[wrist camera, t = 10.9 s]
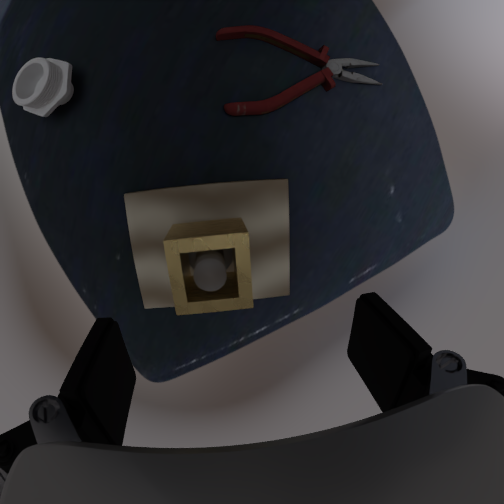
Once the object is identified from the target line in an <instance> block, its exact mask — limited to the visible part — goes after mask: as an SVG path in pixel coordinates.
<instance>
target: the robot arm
mask: <svg viewBox="0 0 504 504" xmlns="http://www.w3.org/2000/svg"><path fill="white" fill-rule="evenodd" d="M431 350H432V348H431V346H430V345H428V343H427V342H425V340H424V339H423V338H422V337H421V336H420V335H419V334H418V333H417V332H416V331H415V330H414V329H413V328H412V327H411V326H410V325H409V324H408V323H407V322H406V321H404V320H403V318H401V317H400V316H399V315H398V314H397V313H396V312H395V311H394V310H393V309H392V308H391V307H390V306H389V305H388V304H387V303H386V302H385V301H384V300H383V299H382V298H381V297H380V296H379V295H377V294H376V293H375V292H372V293H366V294H362V295H361V296H360V298H358V299H357V300H356V305H355V312H354V318H353V323H352V329H351V334H350V340H349V344H348V349H347V354H348V357H349V359H350V361H351V362H352V364H353V365H354V367H355V369H356V370H357V372H358V373H359V375H360V377H361V378H362V380H363V381H364V383H365V385H366V386H367V388H368V389H369V391H370V392H371V394H372V396H373V398H374V399H375V401H376V402H377V404H378V405H379V407H380V409H381V411H382V412H383V413H380V414H377V415H375V416H372V417H369V418H366V419H362V420H359V421H356V422H353V423H349V424H346V425H342V426H339V427H335V428H331V429H327V430H323V431H319V432H314V433H310V434H306V435H301V436H296V437H291V438H285V439H279V440H274V441H267V442H260V443H253V444H244V445H234V446H223V447H207V448H149V447H148V448H147V447H131V446H122V443H123V438H124V433H125V427H126V422H127V417H128V413H129V408H130V404H131V399H132V395H133V390H134V386H135V382H136V374H135V371H134V368H133V365H132V363H131V360H130V357H129V355H128V352H127V349H126V346H125V343H124V340H123V337H122V334H121V331H120V328H119V325H118V323H117V322H116V321H114V320H113V319H112V318H97V319H96V321H95V323H94V325H93V326H92V328H91V330H90V332H89V334H88V336H87V337H86V339H85V341H84V343H83V345H82V347H81V348H80V350H79V352H78V354H77V356H76V358H75V360H74V362H73V364H72V366H71V368H70V370H69V372H68V374H67V376H66V378H65V380H64V382H63V384H62V386H61V389H60V393H59V395H58V397H55V396H51V395H46V396H43V397H40V398H38V399H37V400H36V401H35V402H34V403H33V404H32V405H31V407H30V410H29V419H30V420H29V421H27V422H25V423H23V424H21V425H19V426H17V427H16V428H13V429H11V430H9V431H7V432H5V433H3V434H1V435H0V504H504V378H503V377H500V376H498V375H493V374H488V373H483V372H478V371H474V370H469V369H466V363H465V360H464V359H463V357H461V356H460V355H459V354H457V353H455V352H453V351H449V350H442V351H439V352H437V353H435V354H434V356H433V355H432V354H431Z"/></svg>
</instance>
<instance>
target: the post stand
mask: <svg viewBox="0 0 504 504" xmlns="http://www.w3.org/2000/svg"><path fill="white" fill-rule="evenodd" d="M124 198H125V206H126V214H127V221H128V227H129V234H130V240H131V245H132V251H133V256H134V262H135V267H136V272H137V276H138V281H139V286H140V290H141V295H142V299H143V303H144V307H145V309H146V308H161V307H175V305H174V300H173V295H172V290H171V284H170V279H169V273H168V268H167V262H166V256H165V250H164V243H163V240H164V238H165V237H166V235H167V233H168V231H169V230H170V228H171V226H172V225H173V224H179V223H188V222H198V221H208V220H218V219H229V218H240V217H241V218H242V220H243V222H244V224H245V226H246V228H247V230H248V232H249V245H250V261H251V277H252V293H253V299H259V298H268V297H276V296H284V295H289V273H290V269H289V196H288V179H264V180H247V181H232V182H219V183H208V184H197V185H187V186H178V187H169V188H161V189H153V190H145V191H138V192H131V193H126V194H124ZM188 256H189V263H190V270H191V276H193V275H194V281H195V283H196V285H197V286H198V287H199V288H201V289H202V290H205V291H216V290H218V289H220V288H221V287H222V286H223V285H224V284H225V282H226V278H227V274H226V272H233V271H234V268H233V257H232V248H228V249H218V250H207V251H198V252H188Z"/></svg>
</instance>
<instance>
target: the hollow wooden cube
mask: <svg viewBox="0 0 504 504" xmlns="http://www.w3.org/2000/svg"><path fill="white" fill-rule="evenodd" d="M163 243H164V250H165V256H166V262H167V268H168V273H169V279H170V284H171V290H172V295H173V300H174V305H175V310H176V314H177V315H185V314H197V313H208V312H218V311H228V310H237V309H246V308H253V293H252V277H251V261H250V245H249V232H248V230H247V228H246V226H245V224H244V222H243V220H242V218H241V217H240V218H229V219H218V220H208V221H198V222H188V223H179V224H173V225H172V226H171V228H170V230H169V231H168V233H167V235H166V237H165V238H164V240H163ZM228 248H232V257H233V268H234V271H233V272H226V274H227V278H226V282H225V284H224V285H223V286H222V287H221V288H220V289H218V290H216V291H205V290H202V289H201V288H199V287H198V286H197V285H196V283H195V281H194V275H193V276H191V270H190V263H189V256H188V252H198V251H207V250H218V249H228Z"/></svg>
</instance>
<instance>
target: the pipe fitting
mask: <svg viewBox="0 0 504 504" xmlns="http://www.w3.org/2000/svg"><path fill="white" fill-rule="evenodd" d="M71 75H72V65H71V64H69V63H68V62H64V61H60V60H56V59H51V58H47V59H44V58H34V59H32V60H30V61H28V62H27V63H26V64H25V65H24V66H23V67H22V68H21V69H20V71H19V72H18V74H17V75H16V78H15V80H14V84H13V90H12V95H13V99H14V101H15V103H16V104H18V105H21V106H23V109H24V110H26V111H29V112H31V113H34V114H37V115H39V116H43V117H48V116H49V115H50V114H51V113H52V112H53V111H54V110H55V109H56V108H57V107H58V106H59V105H63V104H65V103H67V102H68V101H69V100H70V99H71V97H72V95H73V92H74V87H73V84H72V83H71Z"/></svg>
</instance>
